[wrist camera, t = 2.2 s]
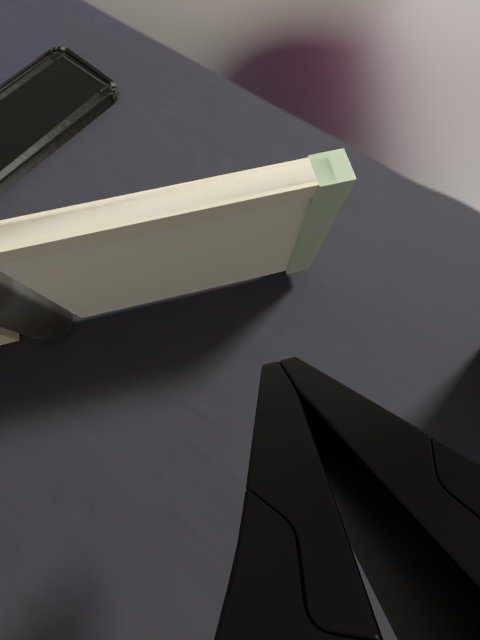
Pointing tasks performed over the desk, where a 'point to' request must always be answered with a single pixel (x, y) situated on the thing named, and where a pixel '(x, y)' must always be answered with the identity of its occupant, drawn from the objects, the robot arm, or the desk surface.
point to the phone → (48, 109)
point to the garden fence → (30, 314)
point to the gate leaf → (178, 235)
